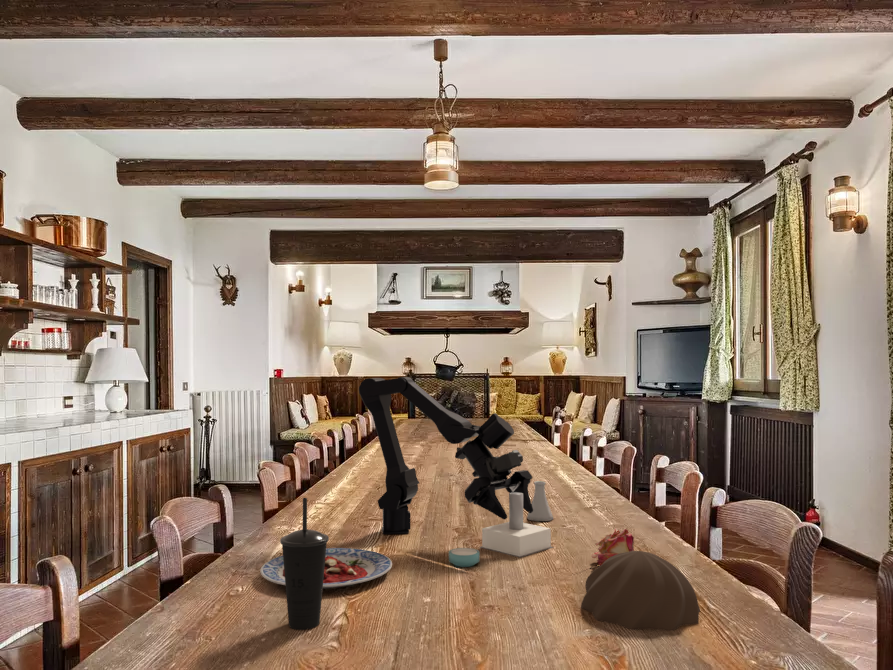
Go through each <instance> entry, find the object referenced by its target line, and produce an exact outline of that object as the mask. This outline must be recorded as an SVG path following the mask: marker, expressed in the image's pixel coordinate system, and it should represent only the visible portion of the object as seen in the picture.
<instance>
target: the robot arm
mask: <svg viewBox="0 0 893 670" xmlns="http://www.w3.org/2000/svg"><path fill="white" fill-rule="evenodd" d="M358 394H359V396H360V398H361V401H362V402H363V405H364V406H365V407H366V408H367V410H368V411H369V413H370V414H371V416H372V419H373V423H374V427H375V430H376V433H377V438H378V442H379V446H380V448H381V452H382V455H383V459H384V463H385V466H386V467H385V468H386V473H385V481H384V482H385V483H384V484H385V489H386V490H385V492H384V494H383V495H381V496H380V498H378V499H377V505H378V508H379V510H382V526H381V532H382V535H396V534H397V535H398V534H399V535H401V534H409V533H410V530H411V512H410V510H409V506H408V505H411V503H412V501H413V498H414V497H415V496H416V495H417V493H418V491H419V486H418V485H419V484H420V481H419V480H418V477H417V472H416V468H415V467H413V468H409V466H407V464H406V463H405V459H404V456H403V452H402V449H401V445H400V441H399V437H398V434H397V430H396V427H395V423H394V420H393V416H392V412H391V403H392V395H394V394H400V395H402V396H403V397H404V398H405V399H407V400H408V401H409V402H410V403H411V404H412V405H413V406H415V407H416V408H417V409H418V410H419V411H421V413H422V414H424V415H425V416H426V417H427V418H429V420H431V421H432V422H433V423H434V425H435V426H436V428H437V430H438V432H439V433H440V434H441V435H442V437H443V438H444V439H445V440H446V442H448V443H449V444H451V445H457V444H458V445H459V444H461V443H464V442H465V444H463V445H462V447H459V446H458V447H456V452H455V456H454V458H456V459H459V460H465V459H466V461H467V462H468V464H469V465H470V466H471V468H472V469H473V472H472V476H473V479H472V481H471V482H470V483H469V485H468V486H467V487H466V488H465V489H464V498H465V499H466V501H467V502H468V504H471V503H473V505H475V506H479V507H481V508H482V509H485V510H487V511H488V512H490V513H492V514H493V515H494V516H497V517H499V518H500V519H502V520H504V521H505V520H506V519H508V513H506V510H505V509H504V507H503V505H502V504H501V501H499V498H498V497H497V495H496V491H498V490H503V489H505V490H506V491H507V493H508V494H509V493H513V492H518V493H523V510H525V511H526V512H529V513H532V512H533V507H532V501H531V497H530V494H529V485H530V484H531V482H532V481H531V480H532V479H533V476H532V474H531V473H530V471H529V470H526V469H522V470H516V471H514V473H513V474H512V470H513V469H515V468H517V467H518V468H519V467H521V466H522V463H523V462H524V456H523V455H522V454H521V453H520V451H519V450H518V449H515V450H511V451H508V452H507V453H504V454H502V455H500V456H498V455H497V456H494V455H493V453H492V452H491V451H490V450H491V449H495V450H498V449H499V448H501V447H502V445H503V444H505V442H507V441H508V440H509V439H510V438H511V437H512V436H513V435H514V434H515V430H514V428H513V426H512V425H511V424H510V423H509V422H508V421H506V420H505V419H504V418H502V417H501V416H499V414H497V413H495V412H494V413H492V414H491V415H489V417H488V418H487V420H485V422H484V423H483V424H481V426H480V425H476V424H472V423H471V421H469V420H468V419H466V418H465V417H463V416H461V415H460V414H458V413H456V412H453V411H451V410H449V409H447V408H445V407H444V406H443V405H442V404H441V403H440V402H438V400H436V399H435V398H434V397H433V396H431V395H430V394H429V393H428V392H426V390H424V389H423V388H422V387H420V386H419V385H418V384H417V383H416V382H415V381H414V380H413V379H412V377H409V376H400V377H396V378H392V379H391V378H390V379H385V378H382V377H372V378H371V377H370V378H369V377H368V378H365V379H363V380H362V382H360V384H359V386H358ZM473 437H475V438H474V439H472V440H470V439H471V438H473ZM511 474H512V475H511ZM510 475H511V476H510ZM508 476H510V477H509V478H508Z"/></svg>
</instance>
